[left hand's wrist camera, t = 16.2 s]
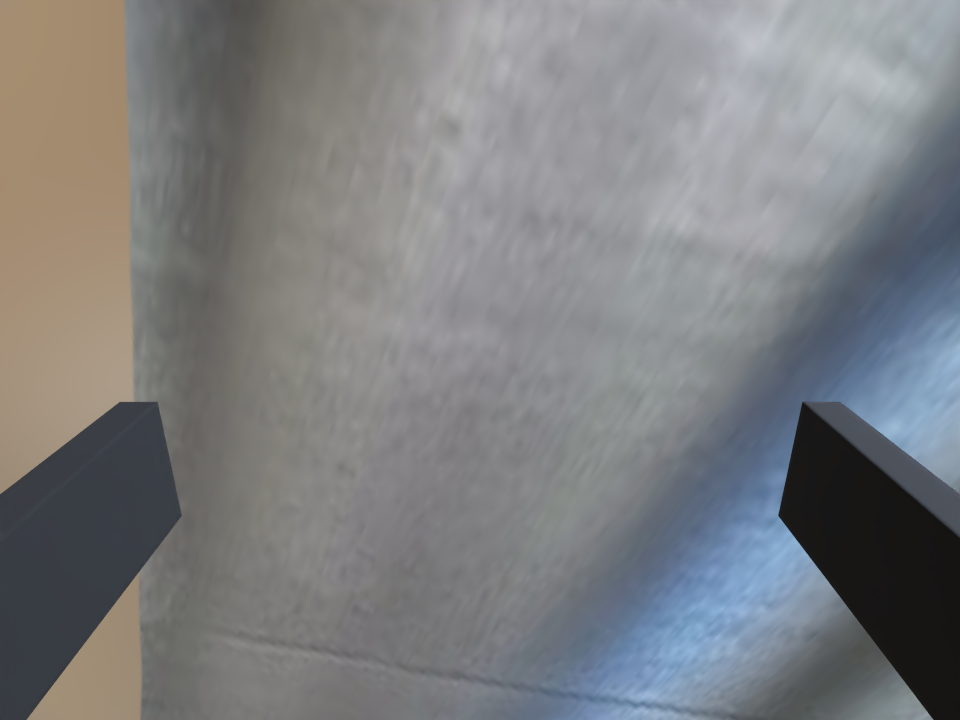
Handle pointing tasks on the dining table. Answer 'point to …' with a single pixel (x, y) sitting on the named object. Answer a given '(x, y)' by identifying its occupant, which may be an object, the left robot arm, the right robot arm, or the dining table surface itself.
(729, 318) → the dining table surface
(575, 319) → the dining table surface
